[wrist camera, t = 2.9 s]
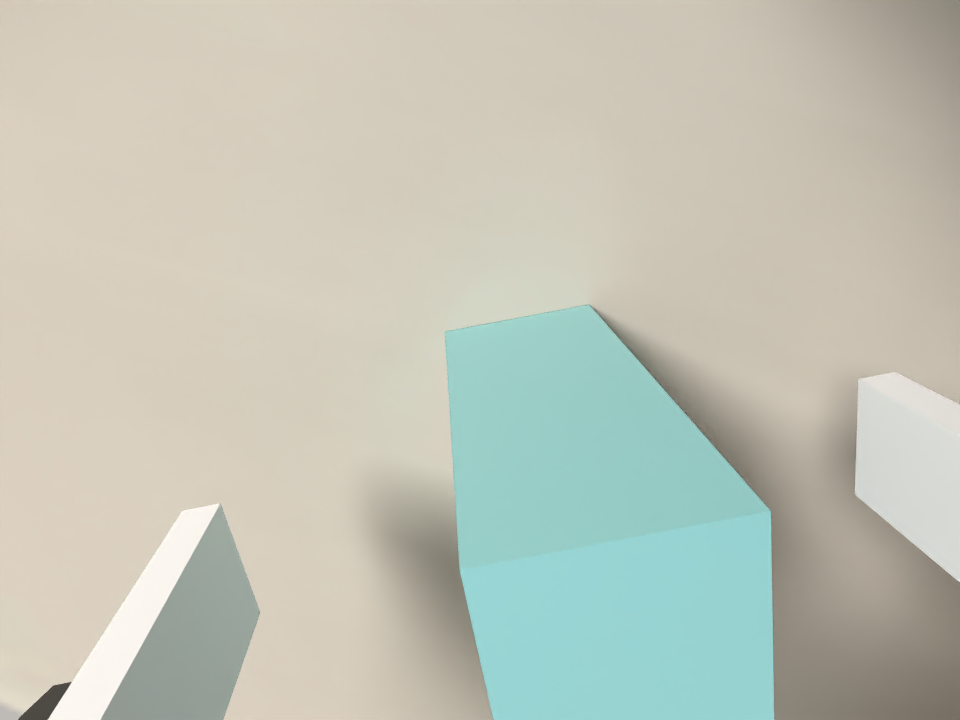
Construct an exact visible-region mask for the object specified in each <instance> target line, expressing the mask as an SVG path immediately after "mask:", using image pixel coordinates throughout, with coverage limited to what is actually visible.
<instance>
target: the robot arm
mask: <svg viewBox="0 0 960 720" xmlns="http://www.w3.org/2000/svg"><path fill="white" fill-rule="evenodd" d="M855 495H856V496H857V497H858V498H859V499H861V500H862V501H863V502H864V503H865V504H867V505H868V506H869V507H870V508H871V509H873V510H874V511H875V512H876V513H877V514H879V515H880V516H881V517H882V518H883V519H884V520H886V521H887V522H888V523H889V524H890V525H892V526H893V527H894V528H895V529H896V530H898V531H899V532H900V533H901V534H902V535H904V536H905V537H906V538H907V539H908V540H910V541H911V542H912V543H913V544H914V545H915V546H917V547H918V548H919V549H920V550H921V551H923V552H924V553H925V554H926V555H927V556H929V557H930V558H931V559H932V560H933V561H935V562H936V563H937V564H938V565H939V566H941V567H942V568H943V569H944V570H945V571H946V572H948V573H949V574H950V575H951V576H952V577H954V578H955V579H956V580H957V581H958V582H960V404H958V403H956V402H954V401H952V400H950V399H948V398H946V397H944V396H942V395H940V394H938V393H936V392H934V391H932V390H930V389H928V388H926V387H924V386H922V385H920V384H918V383H916V382H914V381H912V380H910V379H908V378H906V377H904V376H902V375H900V374H898V373H896V372H892V373H887V374H882V375H876V376H871V377H866V378H861V379H858V410H857V442H856V474H855ZM259 614H260V611H259V608H258V605H257V602H256V600H255V597H254V594H253V591H252V589H251V586H250V583H249V580H248V578H247V575H246V572H245V570H244V567H243V564H242V561H241V559H240V556H239V553H238V550H237V548H236V545H235V542H234V539H233V537H232V534H231V531H230V528H229V526H228V523H227V520H226V517H225V515H224V512H223V509H222V506H221V504H214V505H209V506H204V507H199V508H194V509H189V510H184V511H182V512H181V514H180V515H179V517H178V518H177V520H176V522H175V523H174V525H173V526H172V528H171V529H170V531H169V532H168V534H167V535H166V537H165V539H164V540H163V542H162V543H161V545H160V546H159V548H158V549H157V551H156V553H155V554H154V556H153V557H152V559H151V560H150V562H149V563H148V565H147V567H146V568H145V570H144V571H143V573H142V574H141V576H140V577H139V579H138V580H137V582H136V584H135V585H134V587H133V588H132V590H131V591H130V593H129V594H128V596H127V598H126V599H125V601H124V602H123V604H122V605H121V607H120V608H119V610H118V612H117V613H116V615H115V616H114V618H113V619H112V621H111V622H110V624H109V625H108V627H107V629H106V630H105V632H104V633H103V635H102V636H101V638H100V639H99V641H98V643H97V644H96V646H95V647H94V649H93V650H92V652H91V653H90V655H89V657H88V658H87V660H86V661H85V663H84V664H83V666H82V667H81V669H80V670H79V672H78V674H77V675H76V677H75V678H74V680H73V681H72V682H69V683H64V684H59V685H54V686H53V687H51V688H50V689H49V690H48V691H47V692H46V693H45V694H44V695H43V696H42V697H41V698H40V699H39V700H38V701H37V702H36V703H34V704H33V705H32V706H31V707H30V708H29V709H28V710H27V711H26V712H25V713H24V714H23V715H22V716H21V717H20V718H19V719H18V720H223V719H224V716H225V713H226V710H227V707H228V704H229V701H230V698H231V696H232V693H233V690H234V687H235V684H236V681H237V678H238V675H239V672H240V669H241V667H242V664H243V661H244V658H245V655H246V652H247V649H248V646H249V643H250V640H251V638H252V635H253V632H254V629H255V626H256V623H257V620H258V617H259Z"/></svg>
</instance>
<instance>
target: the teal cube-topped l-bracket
mask: <svg viewBox="0 0 960 720" xmlns="http://www.w3.org/2000/svg"><path fill="white" fill-rule="evenodd" d="M445 343H446V359H447V375H448V391H449V407H450V423H451V439H452V455H453V472H454V488H455V504H456V520H457V536H458V552H459V568H460V574H461V578H462V583H463V587H464V592H465V596H466V601H467V605H468V610H469V614H470V618H471V623H472V627H473V632H474V636H475V641H476V645H477V649H478V654H479V658H480V663H481V667H482V672H483V676H484V680H485V685H486V689H487V694H488V698H489V703H490V707H491V712H492V716H493V720H774V681H773V616H772V552H771V511H770V510H769V508H768V507H767V506H766V505H765V504H764V503H763V502H762V500H761V499H760V498H759V497H758V496H757V495H756V494H755V492H754V491H753V490H752V489H751V488H750V487H749V486H748V485H747V483H746V482H745V481H744V480H743V479H742V478H741V477H740V475H739V474H738V473H737V472H736V471H735V470H734V469H733V467H732V466H731V465H730V464H729V463H728V462H727V461H726V460H725V458H724V457H723V456H722V455H721V454H720V453H719V452H718V450H717V449H716V448H715V447H714V446H713V445H712V444H711V442H710V441H709V440H708V439H707V438H706V437H705V436H704V435H703V433H702V432H701V431H700V430H699V429H698V428H697V427H696V425H695V424H694V423H693V422H692V421H691V420H690V419H689V417H688V416H687V415H686V414H685V413H684V412H683V411H682V410H681V408H680V407H679V406H678V405H677V404H676V403H675V402H674V400H673V399H672V398H671V397H670V396H669V395H668V394H667V393H666V391H665V390H664V389H663V388H662V387H661V386H660V385H659V383H658V382H657V381H656V380H655V379H654V378H653V377H652V375H651V374H650V373H649V372H648V371H647V370H646V369H645V368H644V366H643V365H642V364H641V363H640V362H639V361H638V360H637V358H636V357H635V356H634V355H633V354H632V353H631V352H630V350H629V349H628V348H627V347H626V346H625V345H624V344H623V343H622V341H621V340H620V339H619V338H618V337H617V336H616V335H615V333H614V332H613V331H612V330H611V329H610V328H609V327H608V325H607V324H606V323H605V322H604V321H603V320H602V319H601V318H600V316H599V315H598V314H597V313H596V312H595V311H594V310H593V308H592V307H591V306H590V305H585V306H579V307H574V308H569V309H563V310H558V311H553V312H547V313H542V314H537V315H532V316H526V317H521V318H516V319H510V320H505V321H500V322H494V323H489V324H484V325H478V326H473V327H468V328H462V329H457V330H452V331H446V332H445Z"/></svg>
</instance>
